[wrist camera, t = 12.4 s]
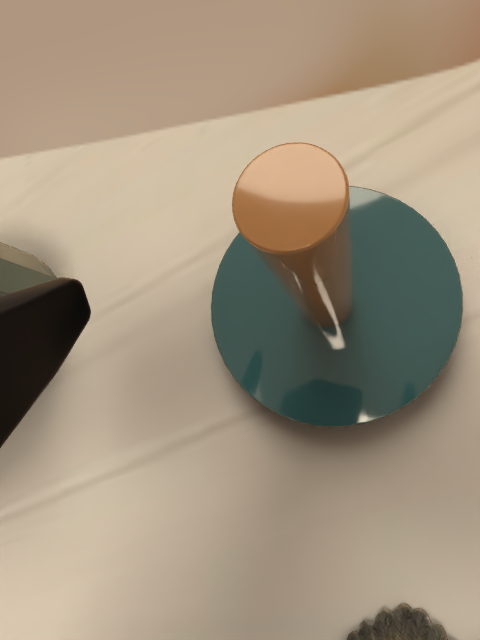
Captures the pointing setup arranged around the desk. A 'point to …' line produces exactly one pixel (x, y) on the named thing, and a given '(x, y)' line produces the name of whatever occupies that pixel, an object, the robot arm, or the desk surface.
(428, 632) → the eagle figurine
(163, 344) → the desk surface
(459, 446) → the desk surface
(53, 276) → the pot
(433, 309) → the lid
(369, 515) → the desk surface
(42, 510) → the desk surface
